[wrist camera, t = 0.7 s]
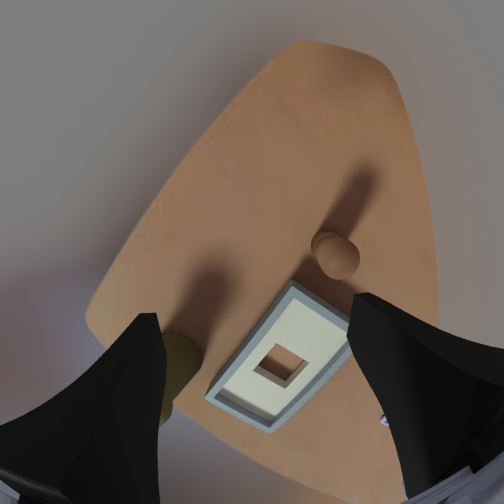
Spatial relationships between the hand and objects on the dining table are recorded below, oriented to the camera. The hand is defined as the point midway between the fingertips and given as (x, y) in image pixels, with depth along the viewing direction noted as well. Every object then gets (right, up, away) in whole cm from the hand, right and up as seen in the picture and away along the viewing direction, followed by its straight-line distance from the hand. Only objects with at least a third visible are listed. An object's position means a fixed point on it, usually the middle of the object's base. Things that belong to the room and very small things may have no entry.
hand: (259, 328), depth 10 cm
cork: (-9, -9, +21) cm, 25 cm away
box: (+3, -9, +19) cm, 22 cm away
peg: (+7, +3, +17) cm, 19 cm away
